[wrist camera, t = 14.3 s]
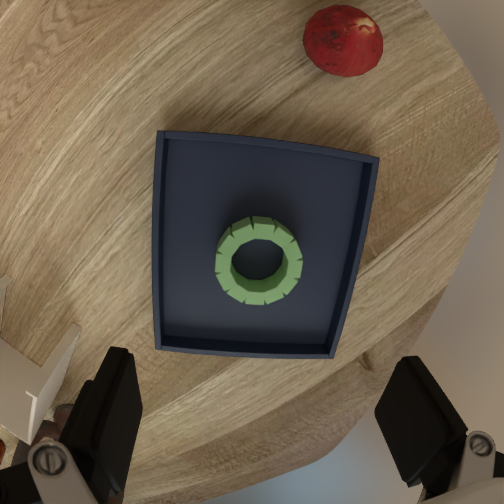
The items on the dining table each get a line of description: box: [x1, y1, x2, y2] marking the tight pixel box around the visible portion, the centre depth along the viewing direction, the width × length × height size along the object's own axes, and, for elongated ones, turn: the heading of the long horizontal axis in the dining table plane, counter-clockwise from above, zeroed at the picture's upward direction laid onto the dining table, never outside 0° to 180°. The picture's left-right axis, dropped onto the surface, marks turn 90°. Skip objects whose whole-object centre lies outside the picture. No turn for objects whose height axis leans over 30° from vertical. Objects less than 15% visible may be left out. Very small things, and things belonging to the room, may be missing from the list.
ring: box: [215, 216, 303, 305], centre depth 25 cm, size 7×7×2 cm
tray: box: [152, 130, 380, 359], centre depth 26 cm, size 17×19×2 cm
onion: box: [302, 5, 383, 77], centre depth 17 cm, size 6×6×8 cm
